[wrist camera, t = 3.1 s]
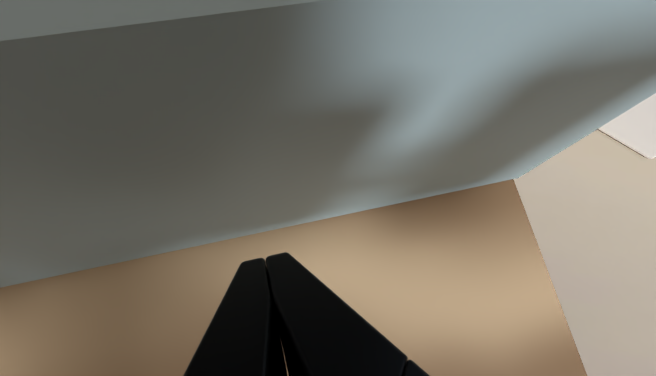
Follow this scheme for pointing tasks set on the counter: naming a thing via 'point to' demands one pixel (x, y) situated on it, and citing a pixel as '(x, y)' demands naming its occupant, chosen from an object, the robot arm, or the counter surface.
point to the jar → (636, 128)
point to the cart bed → (337, 274)
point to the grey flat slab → (284, 112)
